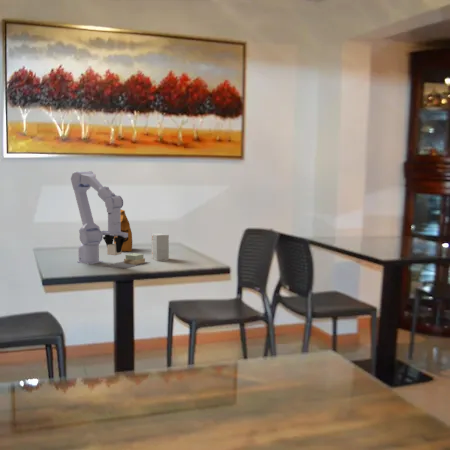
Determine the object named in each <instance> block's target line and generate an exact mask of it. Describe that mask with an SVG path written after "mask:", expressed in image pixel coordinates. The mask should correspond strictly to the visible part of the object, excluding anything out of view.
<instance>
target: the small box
mask: <svg viewBox="0 0 450 450" xmlns="http://www.w3.org/2000/svg"><path fill="white" fill-rule="evenodd" d="M169 236H170V235H169V234H167V233H163V232H162V233H161V232H160V233H159V232H158V233H151V260H154V261H156V262H163V261H165V262H166V261H169V260H170V259H169V258H170V257H169V256H170V255H169V249H170V248H169V247H170V245H169V244H170V243H169V242H170V240H169V238H170V237H169Z"/></svg>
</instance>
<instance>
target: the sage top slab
mask: <svg viewBox="0 0 450 450" xmlns="http://www.w3.org/2000/svg"><path fill="white" fill-rule="evenodd" d="M143 258H144V254H143V253H134V252H133V253H132V252H131V253H128V254H125V259H129V260H139V259H143Z"/></svg>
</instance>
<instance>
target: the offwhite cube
mask: <svg viewBox="0 0 450 450" xmlns="http://www.w3.org/2000/svg"><path fill="white" fill-rule="evenodd" d="M106 248H107V251H106V252H107V255H109V256H119V255H122V251H121V252H119V253H117V251H116V244H114V243H113V244H109V245H106Z"/></svg>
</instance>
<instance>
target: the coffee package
mask: <svg viewBox="0 0 450 450" xmlns="http://www.w3.org/2000/svg"><path fill="white" fill-rule="evenodd" d="M121 232H124V233H128V237H126V239H125V241H124V243H123V245H122V249H121V253H122V252H132V250H133V233H132V229H131V225H130V222H129V219H128V217H127V215H126V210H124V209H121ZM115 237H117V236H114V238H115ZM113 244H116V242H115V239H113Z"/></svg>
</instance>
